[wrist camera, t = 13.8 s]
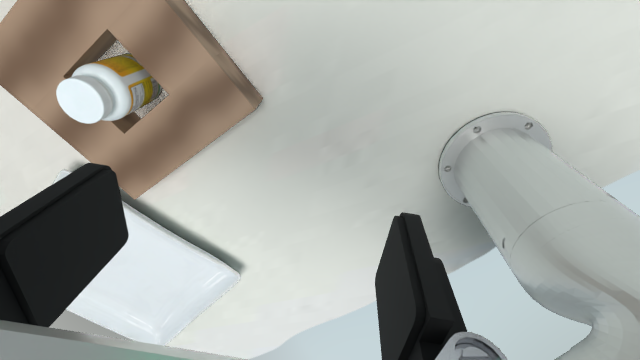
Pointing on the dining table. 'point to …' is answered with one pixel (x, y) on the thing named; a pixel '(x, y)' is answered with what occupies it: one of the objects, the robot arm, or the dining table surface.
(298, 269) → the dining table surface
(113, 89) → the supplement bottle
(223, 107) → the walnut socket block
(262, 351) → the dining table surface
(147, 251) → the square plate
